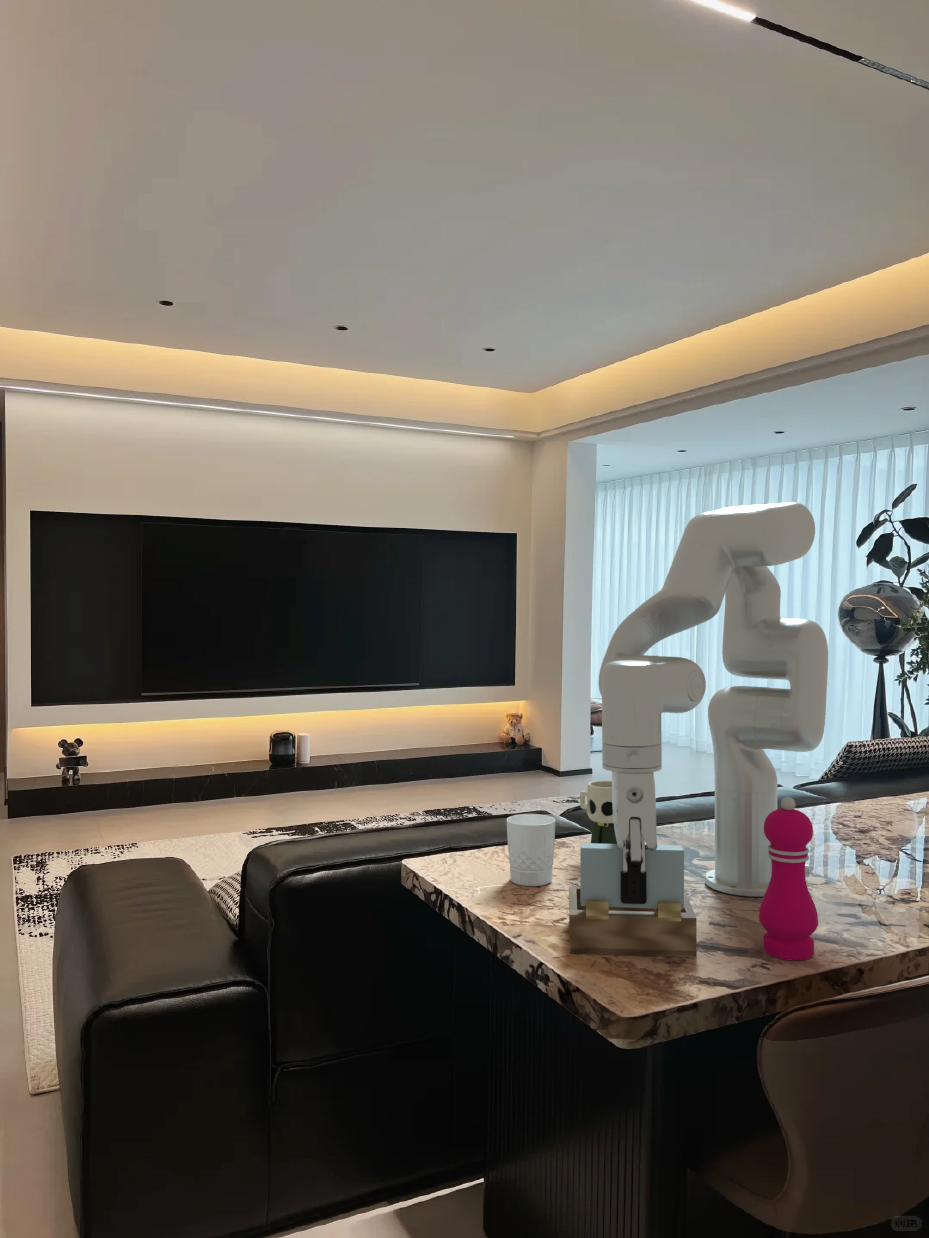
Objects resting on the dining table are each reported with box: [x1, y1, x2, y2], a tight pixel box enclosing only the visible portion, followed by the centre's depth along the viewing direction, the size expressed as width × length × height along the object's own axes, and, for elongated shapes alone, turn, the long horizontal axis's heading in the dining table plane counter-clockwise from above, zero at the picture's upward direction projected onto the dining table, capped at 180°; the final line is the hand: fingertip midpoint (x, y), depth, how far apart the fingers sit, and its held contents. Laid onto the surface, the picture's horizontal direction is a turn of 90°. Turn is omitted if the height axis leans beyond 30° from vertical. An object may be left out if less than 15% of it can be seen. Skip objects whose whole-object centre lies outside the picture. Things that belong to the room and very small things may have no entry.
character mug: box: [579, 780, 617, 844], centre depth 165 cm, size 11×7×13 cm, turn 54°
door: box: [579, 842, 685, 909], centre depth 120 cm, size 13×3×8 cm, turn 84°
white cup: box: [506, 813, 556, 887], centre depth 151 cm, size 8×8×10 cm
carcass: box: [568, 885, 698, 958], centre depth 124 cm, size 16×13×7 cm
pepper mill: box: [758, 796, 819, 961], centre depth 120 cm, size 7×7×20 cm
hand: (632, 897), depth 120 cm, fingers closed on door, 2 cm apart
